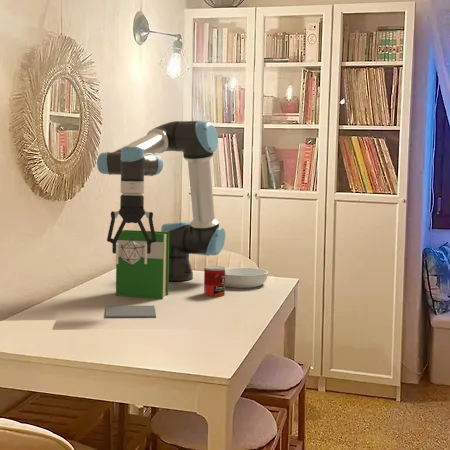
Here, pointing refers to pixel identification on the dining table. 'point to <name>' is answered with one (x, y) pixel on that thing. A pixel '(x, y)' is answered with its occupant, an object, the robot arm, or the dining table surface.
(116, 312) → the mat
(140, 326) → the dining table surface
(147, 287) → the hardback book
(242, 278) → the serving bowl
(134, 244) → the game die
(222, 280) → the canned food
